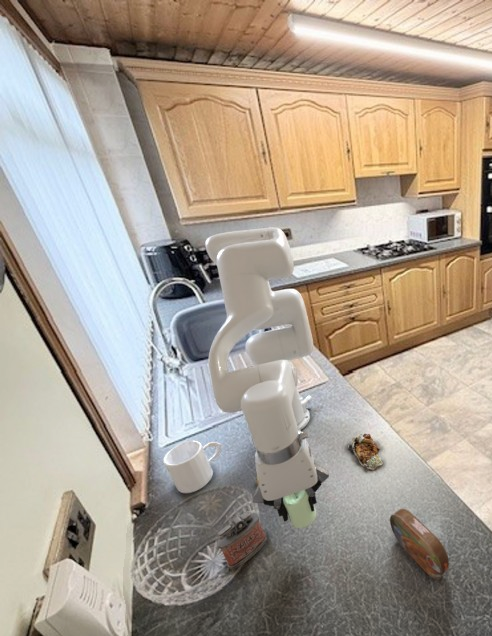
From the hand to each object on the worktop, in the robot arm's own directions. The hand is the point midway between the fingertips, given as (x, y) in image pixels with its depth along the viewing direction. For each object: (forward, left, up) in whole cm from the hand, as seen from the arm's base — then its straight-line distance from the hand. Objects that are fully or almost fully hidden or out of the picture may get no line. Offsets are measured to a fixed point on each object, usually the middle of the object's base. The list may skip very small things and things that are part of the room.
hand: (299, 509), depth 71 cm
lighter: (+7, -10, -10) cm, 16 cm away
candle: (0, 0, -3) cm, 3 cm away
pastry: (-25, 0, -10) cm, 27 cm away
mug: (-3, -37, -10) cm, 38 cm away
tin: (-6, +24, -10) cm, 27 cm away
